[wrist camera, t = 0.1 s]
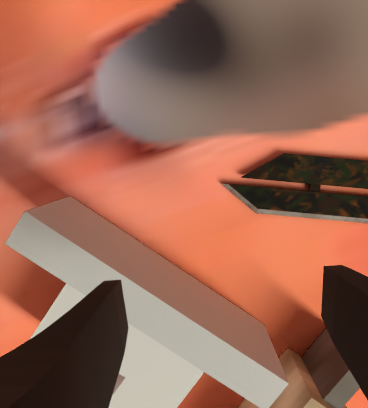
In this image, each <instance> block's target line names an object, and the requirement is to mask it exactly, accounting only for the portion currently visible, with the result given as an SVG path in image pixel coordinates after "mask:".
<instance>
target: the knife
mask: <svg viewBox="0 0 368 408" xmlns="http://www.w3.org/2000/svg"><path fill="white" fill-rule="evenodd" d="M241 178H252V179H263V180H275V181H286V182H297V183H308V184H310V187H309V191H302V190H291V189H279V188H268V187H257V186H246V185H235V184H224V183H221V184H222V185H223V186H224V187H226V188H227V189H228V190H229V191H230V192H232V193H233V194H234V195H235V196H236V197H238V198H239V199H240V200H241V201H242V202H244V203H245V204H246V205H247V206H248V207H249V208H251V209H252V210H253V211H254V212H255V213H261V214H272V215H283V216H294V217H305V218H316V219H327V220H338V221H349V222H360V223H368V196H357V195H346V194H335V193H324V192H319V191H320V185H331V186H342V187H353V188H364V189H368V161H364V160H353V159H342V158H330V157H319V156H308V155H296V154H285V153H284V154H282V155H280V156H278V157H277V158H275V159H273V160H271V161H269V162H268V163H266V164H264V165H262V166H260V167H259V168H257V169H255V170H253V171H251V172H250V173H248V174H246V175H244V176H242V177H241Z"/></svg>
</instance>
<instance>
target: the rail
mask: <svg viewBox="0 0 368 408" xmlns="http://www.w3.org/2000/svg"><path fill="white" fill-rule="evenodd" d="M279 361H280V363H281V366H282V368H283V371H284V373H285V375H286V378H287V380H288V383H289V384H288V385H287V387H286V388H285V389H284V390H283V391H282V393H281V394H280V395H279V396H278V398H277V399H276V400H275V401H274V402H273V404H272V405H271V406H270V407H269V408H347V407H346V406H345V404H346V403H347V402H348V401H349V399H350V398H351V397H352V396H353V395H354V394H355V393H356V392H357V390H358V389H359V388H360V387H359V385H358V383H357V382H356V380H355V378H354V377H353V375H352V373H351V372H350V370H349V369H348V367H347V365H346V364H345V362H344V360H343V359H342V357H341V355H340V354H339V352H338V350H337V349H336V347H335V345H334V343H333V342H332V340H331V337H330V335H329V333H328V331H327V328H326V329H325V330H324V331H323V333H322V334H321V335H320V336H319V337H318V338H317V340H316V341H315V342H314V343H313V344H312V346H311V347H310V348H309V349H308V350H307V352H306V353H305V354H304V355H303V356H302V357H300V356H299V355H298V354H296V353H295V352H293V351H292V350H290V349H289V348H287V349H286V350H285V351H284V353H283V354H282V355H281V356H280V357H279ZM238 408H259V407H258V406H256V405H255V404H253V403H252V402H250V401H248V400H247V399H245V400H244V401H243V402H242V403H241V404H240V406H239V407H238Z"/></svg>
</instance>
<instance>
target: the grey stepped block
mask: <svg viewBox="0 0 368 408" xmlns="http://www.w3.org/2000/svg"><path fill="white" fill-rule="evenodd" d="M5 244H6V245H7V246H9V247H11V248H12V249H14V250H15V251H17V252H18V253H20V254H21V255H23V256H25V257H26V258H28V259H29V260H31V261H32V262H34V263H35V264H37V265H39V266H40V267H42V268H43V269H45V270H46V271H48V272H49V273H51V274H53V275H54V276H56V277H57V278H59V279H60V280H62V281H63V282H65V283H66V285H65V286H64V288H63V289H62V291H61V292H60V294H59V295H58V297H57V298H56V300H55V301H54V303H53V305H52V306H51V308H50V309H49V311H48V312H47V314H46V315H45V317H44V318H43V320H42V321H41V323H40V324H39V326H38V327H37V329H36V331H35V332H34V334H33V335H32V337H31V338H33V337H34V336H36V335H37V334H39V333H40V332H42V331H43V330H44V329H46V328H47V327H48V326H50V325H51V324H52V323H54V322H55V321H56V320H57V319H59V318H60V317H61V316H63V315H64V314H65V313H66V312H68V311H69V310H70V309H71V308H72V307H74V306H75V305H76V304H77V303H78V302H80V301H81V300H82V299H83V298H84V297H85V296H87V295H88V294H89V293H90V292H91V291H92V290H93V289H95V288H96V287H97V286H98V285H99V284H101V283H102V282H103V281H108V280H121V283H122V289H123V296H124V302H125V308H126V315H127V321H128V327H129V328H128V335H127V342H126V348H125V353H124V357H123V361H122V364H121V368H120V371H119V374H118V378H117V381H116V385H115V388H114V391H113V395H112V398H111V401H110V405H109V408H177V407H178V406H179V405H180V403H181V402H182V401H183V399H184V398H185V397H186V395H187V394H188V393H189V392H190V390H191V389H192V388H193V386H194V385H195V384H196V382H197V381H198V380H199V378H200V377H201V376H202V375H203V373H204V372H205V373H206V374H208V375H210V376H211V377H213V378H214V379H216V380H217V381H219V382H220V383H222V384H224V385H225V386H227V387H228V388H230V389H231V390H233V391H234V392H236V393H238V394H239V395H241V396H242V397H244V398H245V399H247V400H248V401H250V402H252V403H253V404H255V405H256V406H258V407H259V408H269V407H270V406H271V405H272V404H273V402H274V401H275V400H276V399H277V398H278V396H279V395H280V394H281V393H282V391H283V390H284V389H285V388H286V387H287V385H288V384H289V383H288V380H287V378H286V375H285V373H284V371H283V368H282V366H281V363H280V361H279V358H278V356H277V354H276V351H275V349H274V346H273V344H272V341H271V339H270V337H269V334H268V332H267V329H266V327H265V325H264V324H263V323H262V322H260V321H259V320H257V319H256V318H254V317H252V316H251V315H249V314H248V313H246V312H245V311H243V310H242V309H240V308H239V307H237V306H236V305H234V304H233V303H231V302H230V301H228V300H227V299H225V298H224V297H222V296H221V295H219V294H218V293H216V292H215V291H213V290H212V289H210V288H209V287H207V286H206V285H204V284H203V283H201V282H200V281H198V280H197V279H195V278H194V277H192V276H191V275H189V274H188V273H186V272H185V271H183V270H181V269H180V268H178V267H177V266H175V265H174V264H172V263H171V262H169V261H168V260H166V259H165V258H163V257H162V256H160V255H159V254H157V253H156V252H154V251H153V250H151V249H150V248H148V247H147V246H145V245H144V244H142V243H141V242H139V241H138V240H136V239H135V238H133V237H132V236H130V235H129V234H127V233H126V232H124V231H123V230H121V229H120V228H118V227H117V226H115V225H113V224H112V223H110V222H109V221H107V220H106V219H104V218H103V217H101V216H100V215H98V214H97V213H95V212H94V211H92V210H91V209H89V208H88V207H86V206H85V205H83V204H82V203H80V202H79V201H77V200H76V199H74V198H73V197H71V196H69V197H66V198H63V199H60V200H57V201H54V202H51V203H48V204H45V205H42V206H39V207H36V208H33V209H30V210H27V211H25V212H24V213H23V215H22V217H21V218H20V220H19V221H18V223H17V225H16V226H15V228H14V230H13V231H12V233H11V235H10V236H9V238H8V240H7V241H6V243H5ZM31 338H30V339H31Z"/></svg>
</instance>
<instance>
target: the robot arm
mask: <svg viewBox="0 0 368 408" xmlns="http://www.w3.org/2000/svg"><path fill="white" fill-rule="evenodd" d="M321 316H322V319H323V321H324V324H325V326H326V328H327V331H328V333H329V335H330V337H331V340H332V342H333V343H334V345H335V347H336V349H337V350H338V352H339V354H340V355H341V357H342V359H343V360H344V362H345V364H346V365H347V367H348V369H349V370H350V372H351V373H352V375H353V377H354V378H355V380H356V382H357V383H358V385H359V387H360V388H361V390H362V391H363V393H364V395H365V396H366V398H367V400H368V277H367V276H365V275H363V274H361V273H358V272H356V271H354V270H352V269H350V268H348V267H345V266H343V265H336V266H324V273H323V293H322V312H321ZM128 328H129V327H128V321H127V315H126V308H125V302H124V296H123V289H122V283H121V280H108V281H103V282H102V283H101V284H99V285H98V286H97V287H96V288H95V289H93V290H92V291H91V292H90V293H89V294H88V295H87V296H85V297H84V298H83V299H82V300H81V301H80V302H78V303H77V304H76V305H75V306H74V307H72V308H71V309H70V310H69V311H68V312H66V313H65V314H64V315H63V316H61V317H60V318H59V319H57V320H56V321H55V322H54V323H52V324H51V325H50V326H48V327H47V328H46V329H44V330H43V331H42V332H40V333H39V334H37V335H36V336H34V337H33V338H31V339H30V340H28V341H27V342H25V343H24V344H22V345H20V346H19V347H17V348H16V349H14V350H12V351H10V352H9V353H7V354H5V355H3V356H1V357H0V408H109V405H110V401H111V398H112V395H113V391H114V388H115V385H116V381H117V378H118V374H119V371H120V368H121V364H122V361H123V357H124V353H125V348H126V342H127V335H128Z"/></svg>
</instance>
